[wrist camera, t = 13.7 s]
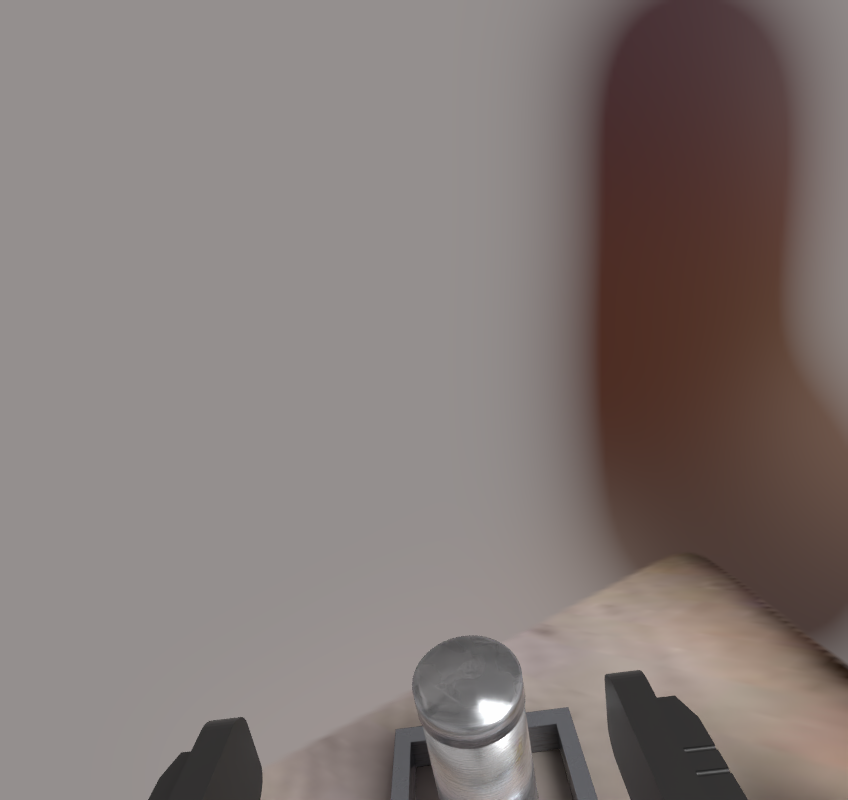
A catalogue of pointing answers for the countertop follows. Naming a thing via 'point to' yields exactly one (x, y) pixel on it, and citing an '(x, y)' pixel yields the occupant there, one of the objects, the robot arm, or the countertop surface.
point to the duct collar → (544, 735)
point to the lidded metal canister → (475, 720)
